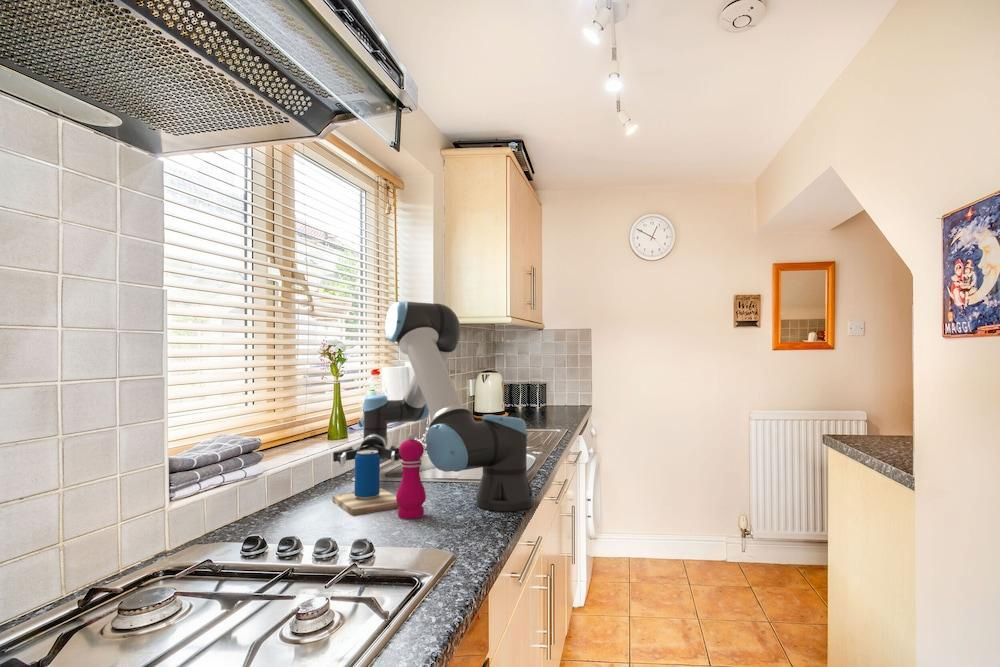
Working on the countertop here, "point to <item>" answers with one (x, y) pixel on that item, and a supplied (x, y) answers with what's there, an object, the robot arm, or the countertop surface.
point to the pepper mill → (411, 480)
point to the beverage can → (367, 474)
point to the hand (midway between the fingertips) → (367, 461)
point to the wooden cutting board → (366, 502)
